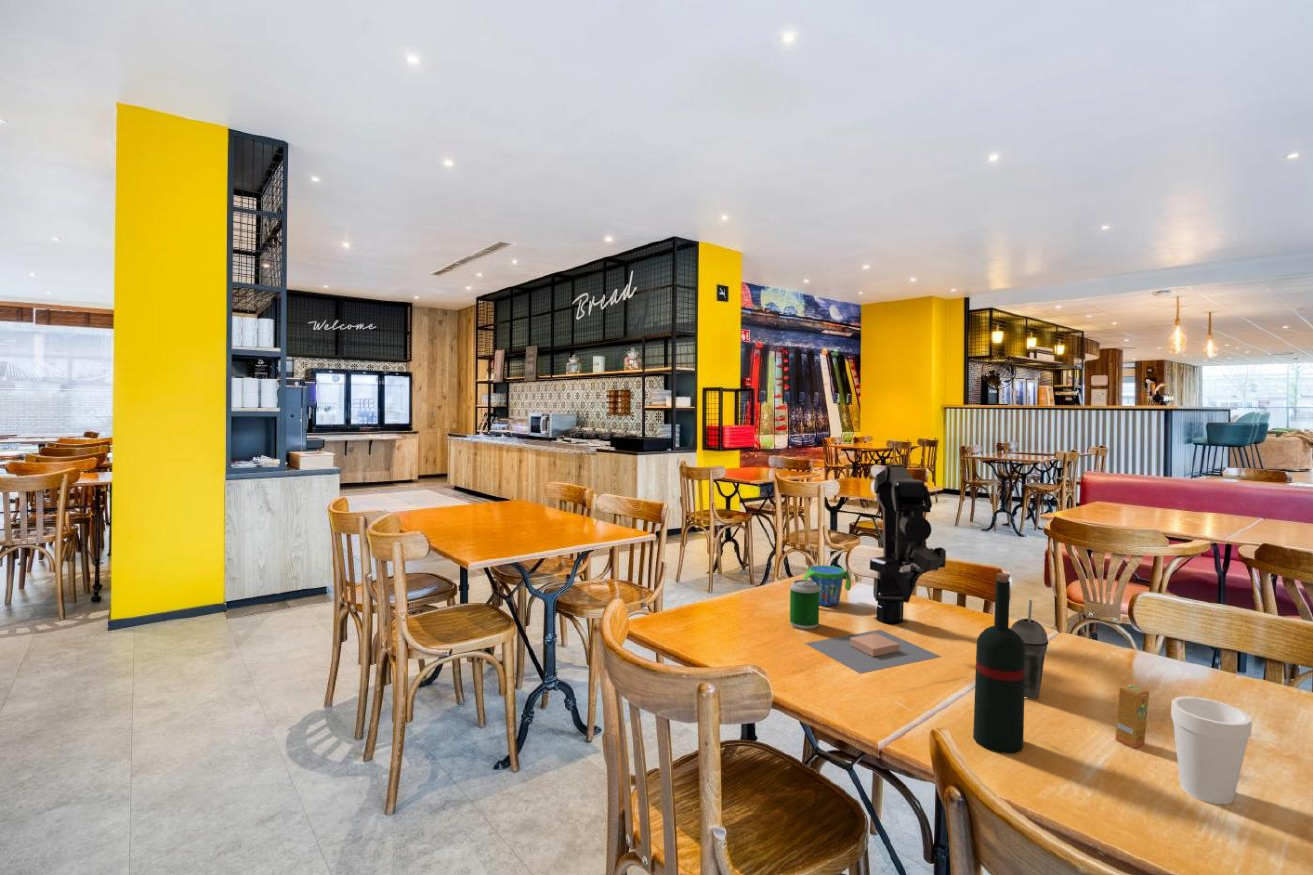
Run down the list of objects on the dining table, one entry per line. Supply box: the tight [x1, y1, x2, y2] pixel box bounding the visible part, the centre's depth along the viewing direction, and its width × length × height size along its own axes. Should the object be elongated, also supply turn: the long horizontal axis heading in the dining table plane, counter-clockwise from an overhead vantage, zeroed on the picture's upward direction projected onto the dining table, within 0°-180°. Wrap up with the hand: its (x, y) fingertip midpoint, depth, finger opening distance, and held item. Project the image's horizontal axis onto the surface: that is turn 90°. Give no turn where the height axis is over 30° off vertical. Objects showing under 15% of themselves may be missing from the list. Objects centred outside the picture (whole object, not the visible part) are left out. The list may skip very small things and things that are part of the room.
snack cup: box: [802, 564, 852, 607], centre depth 199 cm, size 16×10×10 cm
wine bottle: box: [972, 572, 1026, 755], centre depth 118 cm, size 8×10×30 cm
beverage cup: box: [1009, 599, 1050, 699], centre depth 137 cm, size 7×7×20 cm
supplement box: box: [1115, 683, 1150, 749], centre depth 118 cm, size 3×3×10 cm
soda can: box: [789, 579, 820, 630], centre depth 178 cm, size 8×8×12 cm
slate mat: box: [804, 629, 942, 674], centre depth 161 cm, size 24×20×1 cm
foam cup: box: [1170, 696, 1253, 805], centre depth 103 cm, size 10×9×13 cm
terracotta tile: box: [850, 633, 900, 657], centre depth 161 cm, size 2×8×8 cm
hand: (907, 598), depth 160 cm, fingers closed
